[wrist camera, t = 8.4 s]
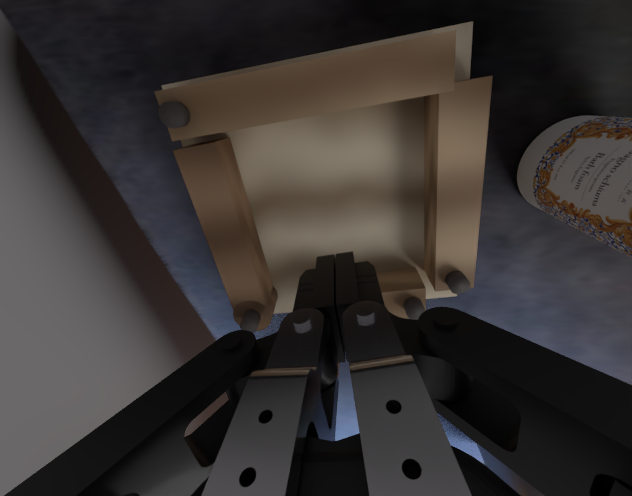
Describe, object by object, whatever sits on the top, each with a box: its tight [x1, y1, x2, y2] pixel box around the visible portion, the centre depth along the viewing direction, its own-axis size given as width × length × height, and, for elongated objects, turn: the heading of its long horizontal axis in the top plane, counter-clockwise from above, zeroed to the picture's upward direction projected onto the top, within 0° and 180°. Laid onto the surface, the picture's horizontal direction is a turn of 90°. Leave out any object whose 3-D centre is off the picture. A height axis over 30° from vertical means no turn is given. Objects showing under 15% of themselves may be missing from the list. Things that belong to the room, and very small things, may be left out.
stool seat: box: [154, 21, 493, 320], centre depth 22 cm, size 20×20×6 cm
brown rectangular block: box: [173, 137, 278, 333], centre depth 22 cm, size 15×3×4 cm, turn 10°
